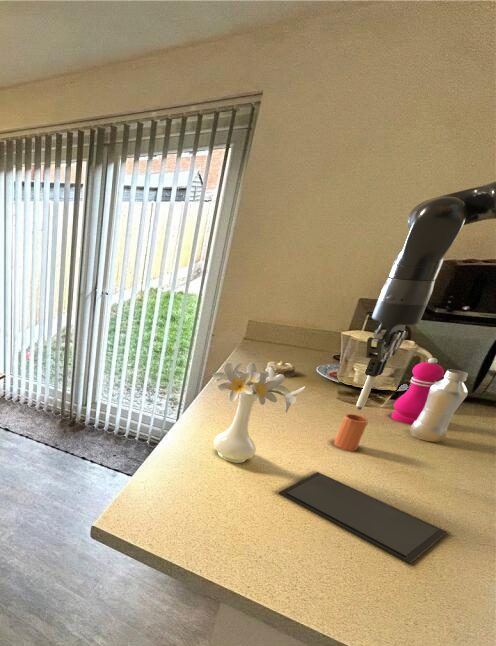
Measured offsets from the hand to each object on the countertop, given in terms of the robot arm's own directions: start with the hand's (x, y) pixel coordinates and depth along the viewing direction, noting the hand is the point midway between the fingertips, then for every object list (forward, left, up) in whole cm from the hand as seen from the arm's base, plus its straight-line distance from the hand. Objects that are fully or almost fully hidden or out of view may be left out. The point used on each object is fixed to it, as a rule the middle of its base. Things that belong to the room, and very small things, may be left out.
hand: (373, 374), depth 90 cm
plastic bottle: (-6, -32, -24) cm, 41 cm away
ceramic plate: (+22, -65, -24) cm, 73 cm away
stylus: (0, 0, -9) cm, 9 cm away
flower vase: (+13, +22, -24) cm, 35 cm away
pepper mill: (+1, -41, -24) cm, 48 cm away
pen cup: (+2, -8, -24) cm, 25 cm away
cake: (+41, -49, -24) cm, 69 cm away
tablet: (-12, +20, -24) cm, 33 cm away
